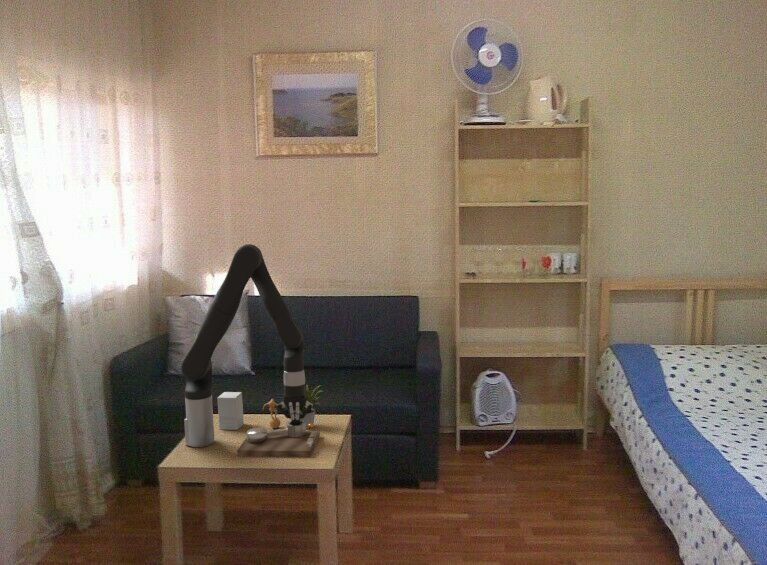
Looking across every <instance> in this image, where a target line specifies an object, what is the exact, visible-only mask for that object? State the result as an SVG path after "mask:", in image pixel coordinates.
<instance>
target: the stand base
mask: <svg viewBox="0 0 767 565" xmlns="http://www.w3.org/2000/svg"><path fill="white" fill-rule="evenodd" d="M320 433H321V432H320V431H319V430H315V431H314V430H312V431H311V430H306V434H305V435H304V436H301V437H289V436H288V435H287V434H284V435H277V436H270V437H267V440H266V441H264V442H261V443H250V442H248V441H247V437H246V438H245V439H244V440H243V442H242V443H241V444H240V445H239V447H238V449H236V454H237V457H238V456H239V457H285V458H286V457H290V458H291V457H292V458H294V457H299V458H302V457H303V458H306V457H307V458H310V457H311V456H312V454H313V452H314V450H315V448H316V445H317V443H318V442H319V439H320V437H321V434H320ZM317 441H318V442H317Z"/></svg>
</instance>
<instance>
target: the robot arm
mask: <svg viewBox="0 0 767 565" xmlns="http://www.w3.org/2000/svg"><path fill="white" fill-rule="evenodd" d="M232 256H233V257H232V258H231V262H230V264H229V268H228V271H227V273H226V275H225V278H224V280H223V281H222V283H221V285H220V286H219V288H218V290H217V291H216V293H215V295H214V297H213V299H212V301H211V303H210V304H209V306H208V309H207V310H206V313H205V316H204V317H203V319H202V323H201V325H200V328H199V331H198V334H197V336H196V339H195V340H194V342H193V344H192V345H191V347H190V349H189V351H188V352H187V353H186V356H184V358H183V359H182V362H181V366H180V370H181V373H182V376H183V377H184V378H185V388H184V400H185V418H184V436H185V439H184V440H185V446H189V447H192V448H205V447H207V446H210V445H213V444H214V443H215V425H214V411H213V408H214V406H213V393H212V392H213V390H212V389H213V364H212V357H213V355H214V353H215V350H216V348H217V347H218V345H219V343H220V342H221V341H222V339H223V337H224V336H225V335H226V333H227V332H228V330H229V328H230V326H231V324H232V323H233V320H234V318H235V316H236V315H237V313H238V310H239V307H240V304H241V300H242V297H243V293H244V291H245V288H246V286H247V284H248V283H249V281H250V279H251V280H252V282H253V284H254V285H255V288H256V289H257V292H258V295H259V297H260V300H261V303H262V305H263V307H264V309H265V311H266V312H267V314H268V317H269V318H270V320H271V321H272V323H273V324H274V327H275V330H276V332H277V334H278V337H279V340H280V341H281V343H282V345H284V355H283V395H284V396H283V399H282V401H281V402H279V403H278V406H277V408H278V409H279V411H280V412H281V413H282V414H283V416H284V417H285V418H286V419H289V420H290V421H292V425H300V419H301V418H302V419H303V418H304V417H305V416H306V414H307V413H308V412H309V410H310V409H311V408H313V407H312V406H313V405H314V404H312V403H313V402H312V403H309V402H308V401H307V398H306V393H305V392H306V376H305V374H306V373H305V368H304V366H305V363H304V340H305V339H304V332H303V329H302V328H301V327H300V326H299V325H296V324H295V322H294V321H293V318H292V314H291V311H290V309H289V307H288V305H287V304H286V302H285V300H284V298H283V296H282V295H281V294H280V292H279V289H278V288H277V286H276V284H275V282H274V281H273V278H272V277H271V274H270V272H269V269H268V267H267V265H266V262H265V259H264V256H263V254H262V251H261V249H260V248H259V247H258V246H256V245H255V244H249V243H248V244H247V243H245V244H243V245H242V246H239V247H238V248H237V249H236V250H235V252H234V253H233V255H232ZM305 404H306V406H305V407H306V410H305V411H304V412H303V413H302V414H301V409H302V408H303V406H304V405H305Z"/></svg>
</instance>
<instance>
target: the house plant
mask: <svg viewBox="0 0 767 565" xmlns="http://www.w3.org/2000/svg"><path fill="white" fill-rule="evenodd" d="M322 386H323V385H318V386H315V388H313V389H312V390H310V388H309V387H308V384H305V393H306V398H307V401H308V402H309V403H312V404H313V406H312V408H311V409H310V410H309V412H308V413H307V414H306V416H305V417H304V418H303V419H302V418H301V419H300V420H303V421H305V422H306V426H307V425H308V424H310V423H312V424H313V427H314V424H315V418H316V417H315V416H316V409H315V407H316V408H319V407H318V405H319V406H320V405H321V404H320V402H319V401H318V399H319V398H320V396H317V395H318V394H319V393H320V392H321V393H322V392H323V389H320V390H318V389H319V387H322ZM317 390H318V391H317ZM316 391H317V392H316ZM315 392H316V393H315ZM314 393H315V394H314ZM316 401H317V402H316ZM305 406H306V404H305V405H304V406H303V408H302V409H301V414H302V413H303V412H304V411H305V410H306V407H305ZM313 407H314V408H313ZM306 430H310V429H309V427H306Z"/></svg>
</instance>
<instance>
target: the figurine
mask: <svg viewBox="0 0 767 565" xmlns="http://www.w3.org/2000/svg"><path fill="white" fill-rule="evenodd" d="M274 400H275V399H274V398H271V400H270V401H268V402H267V403H264V404H263V407H262V411H264V410H265V406H269V411H270V417H271V419H270V421H269V426H270V427H271V429H277V428H278V429H279V427H280V426H281V420H280V419H279V418H278V417H277V416H278V415H277V414H278V410H277V408H275V407H276V406H277V407H278V405H279V403H277V402H275V401H274ZM273 412H274V414H273ZM273 415H274V416H273Z"/></svg>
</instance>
